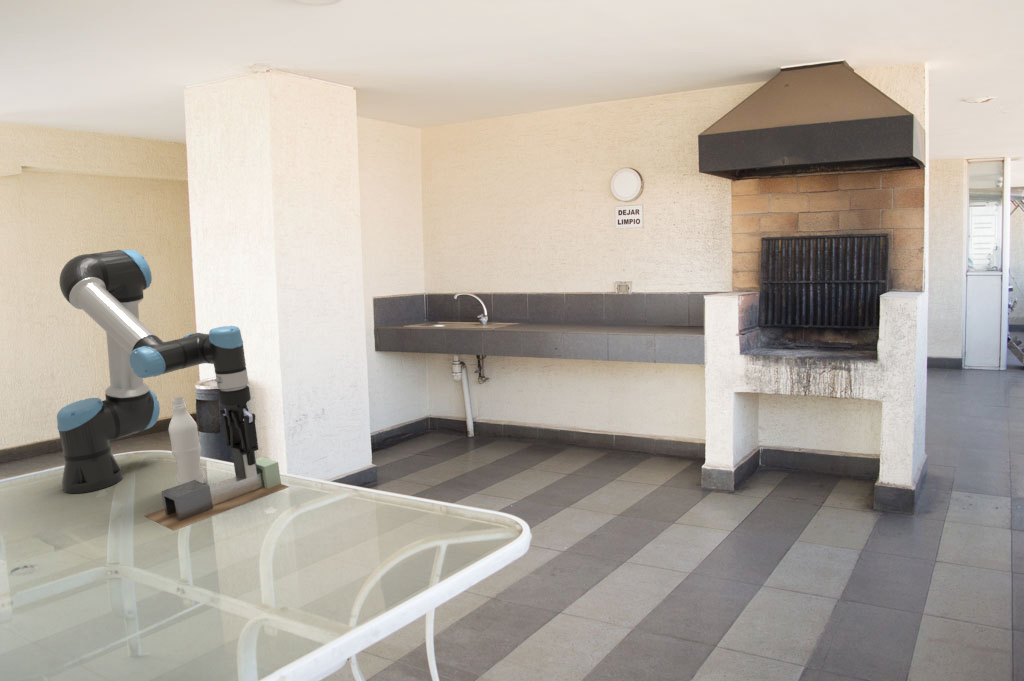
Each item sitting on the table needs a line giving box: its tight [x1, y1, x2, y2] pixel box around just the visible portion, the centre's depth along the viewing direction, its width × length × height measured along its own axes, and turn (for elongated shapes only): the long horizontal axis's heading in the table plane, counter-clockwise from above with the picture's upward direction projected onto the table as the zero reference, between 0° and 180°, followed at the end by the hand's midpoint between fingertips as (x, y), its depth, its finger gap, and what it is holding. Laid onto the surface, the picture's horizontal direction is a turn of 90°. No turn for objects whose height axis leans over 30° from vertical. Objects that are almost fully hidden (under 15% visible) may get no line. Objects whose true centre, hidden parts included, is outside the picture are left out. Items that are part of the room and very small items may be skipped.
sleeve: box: [161, 480, 213, 521], centre depth 196 cm, size 8×8×6 cm
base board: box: [143, 483, 290, 531], centre depth 203 cm, size 16×31×1 cm, turn 138°
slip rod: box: [209, 444, 264, 505], centre depth 205 cm, size 4×21×12 cm, turn 138°
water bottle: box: [168, 396, 206, 486], centre depth 214 cm, size 7×7×25 cm
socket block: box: [255, 456, 282, 489], centre depth 212 cm, size 8×4×6 cm, turn 48°
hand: (246, 474), depth 208 cm, fingers closed on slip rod, 4 cm apart
